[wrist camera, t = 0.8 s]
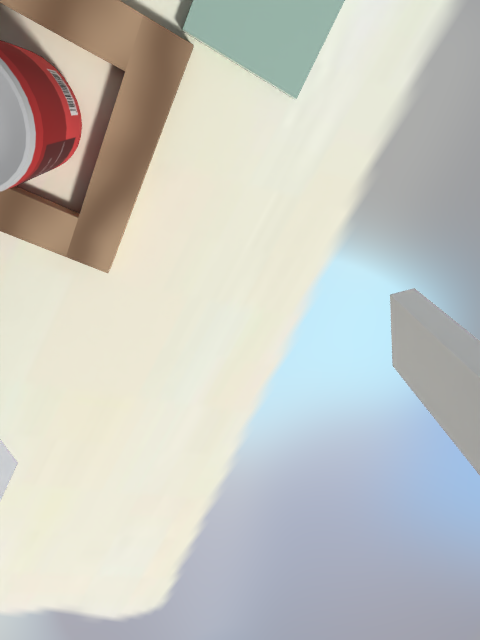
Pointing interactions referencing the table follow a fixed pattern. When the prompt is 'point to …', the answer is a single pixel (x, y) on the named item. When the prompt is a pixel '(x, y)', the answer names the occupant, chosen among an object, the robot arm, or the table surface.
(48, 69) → the canned food
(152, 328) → the table surface
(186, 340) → the table surface
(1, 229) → the pocket board
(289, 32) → the plate
